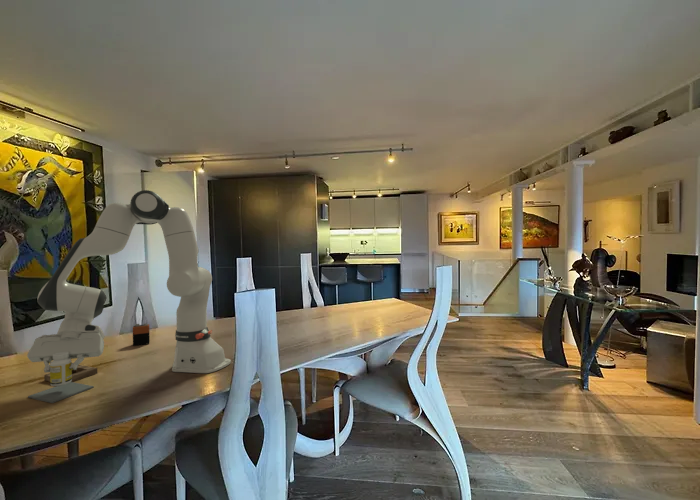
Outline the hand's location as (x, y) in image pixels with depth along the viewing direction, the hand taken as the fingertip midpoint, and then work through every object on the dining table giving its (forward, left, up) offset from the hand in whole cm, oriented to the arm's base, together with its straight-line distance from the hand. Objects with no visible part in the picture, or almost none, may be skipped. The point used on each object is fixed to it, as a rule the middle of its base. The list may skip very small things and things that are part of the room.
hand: (60, 370), depth 110 cm
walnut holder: (+12, -11, -7) cm, 18 cm away
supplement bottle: (0, 0, -5) cm, 5 cm away
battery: (+26, -50, -8) cm, 57 cm away
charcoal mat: (0, -1, -7) cm, 8 cm away
